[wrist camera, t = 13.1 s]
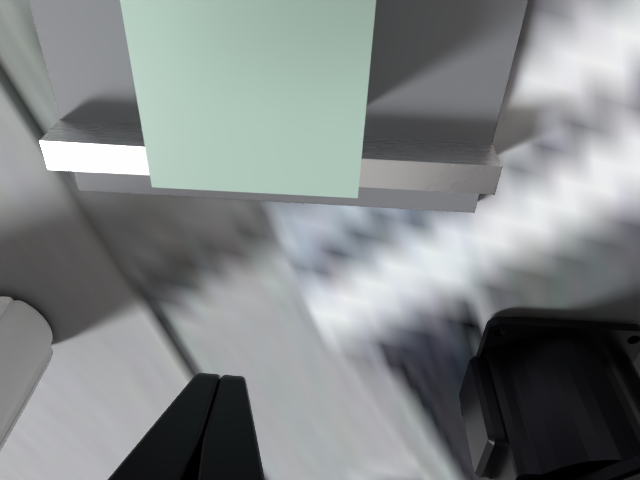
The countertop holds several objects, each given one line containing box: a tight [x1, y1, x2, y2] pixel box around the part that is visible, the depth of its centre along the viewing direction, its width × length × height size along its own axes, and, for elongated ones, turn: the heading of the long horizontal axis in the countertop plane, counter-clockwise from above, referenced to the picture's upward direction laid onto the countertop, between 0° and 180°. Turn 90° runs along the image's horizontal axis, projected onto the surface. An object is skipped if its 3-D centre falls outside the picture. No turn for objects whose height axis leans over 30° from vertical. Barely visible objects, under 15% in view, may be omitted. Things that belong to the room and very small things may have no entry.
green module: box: [120, 0, 376, 198], centre depth 13 cm, size 5×6×5 cm
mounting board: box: [29, 0, 528, 213], centre depth 15 cm, size 14×13×2 cm
